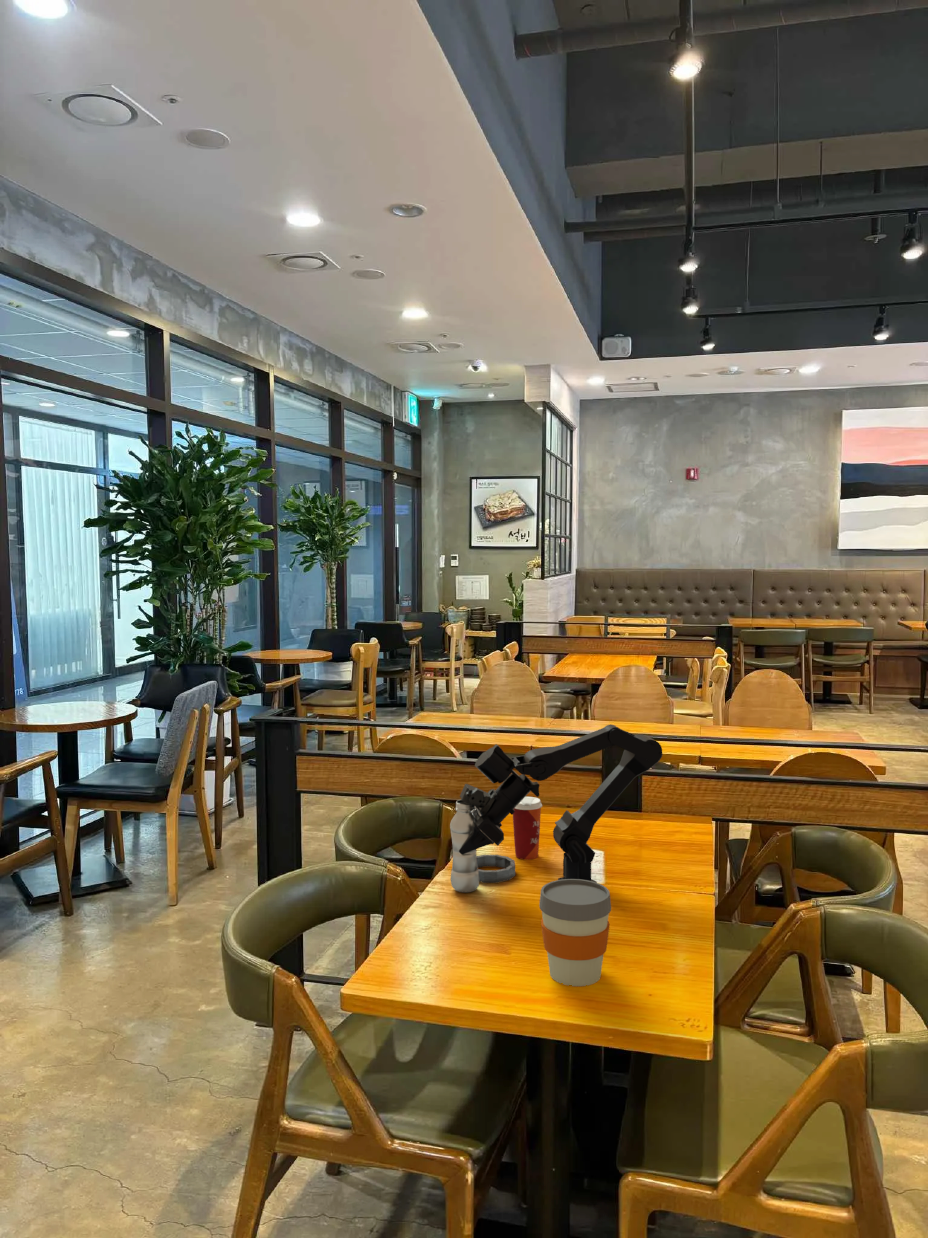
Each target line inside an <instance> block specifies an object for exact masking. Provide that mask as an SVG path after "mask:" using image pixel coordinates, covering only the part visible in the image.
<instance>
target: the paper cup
mask: <svg viewBox="0 0 928 1238" xmlns="http://www.w3.org/2000/svg"><path fill="white" fill-rule="evenodd" d="M542 807H543V804H542V801H541V799H540V798H538V797H536V796H535V797H533V796H525V798H524V799H523V800H522V801H521V802H520V803H519V804H518V805H517V806H516V807H515V808H514V811H515V812H514V813H513V814H512V823H513V824H512V825H513V826H512V827H513V840H514V841H513V842H514V853H515V857H516V858H517V859H520V860H527V861H529V860H535V859H537V858H538V856H539V849H540V848H539V847H540V845H539V844H540V829H541V815H542V814H541V811H542Z"/></svg>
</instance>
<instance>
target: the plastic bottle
mask: <svg viewBox="0 0 928 1238" xmlns="http://www.w3.org/2000/svg"><path fill="white" fill-rule="evenodd" d="M472 810H473V807H472V804H469V803H468V804H467V803H465V802H463V801H462V800H461V799H458V800H456V802H455V812H456V813H455V814H454V815H453V817H452V819H451V820H450V824H449V829H450V835H451V842H452V868H451V872H450V884H451V885H450V886H451V887H452V889H453V890H454V891H456V892H459V893H472V892H474V891H477V888H478V887H479V885H480V882H479V880H480V877H479V871H478V869H479V868H478V866H477V856H478V854H477V852H478V851H477V850H478V849H475V850H473V851H470V852H468V853H465V854H461V853H460V852H459V850H460V848H461V847H462V845H463V844H464V842H465V841H466V840H467V838H468V837H469V835H470V834H471V833H472V831H473V822H474V823H475V824H476V822H477V819H476V818H475V816H474V815H473V813H472Z"/></svg>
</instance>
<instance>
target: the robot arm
mask: <svg viewBox="0 0 928 1238" xmlns="http://www.w3.org/2000/svg"><path fill="white" fill-rule="evenodd" d="M613 746H616V747H618V748H622V749H624V750H623V753H622V756H621V759H620V762H619V763H618V765H617V766H615V768H614V769H613V770H612V771H611V773H610V774H609V775H607V777H606V778H605V779H604V780H603V782H601V784H600V785H599V786H598V788H597V789H596V790H595V791H594V792H593V793H592V794H591V796H590V797H589V798H588V799H587V800H586V801H585V802H584V803H583V805H582V806H581V807H580V808H579V809H578V810H576V811H574V812H572V813H571V811H569V810H565V812H564V813H562V816H561V817H560V818H559V819H558V820H556V821H555V822H554V823H555V826H554V828H553V830H552V837H553V840H554V841H555V843H556V844H557V845H558V846H559V848H560V849H561V851H562V852H564V853H563V860H562V876H561V877H558V878H557V880H562V879H582V880H588V881H593V882H596V883H598V881H596V880H594V879H592V862H593V861H594V858H595V855H596V852H595V850H593V848H592V847H591V846H590V845H589V844H588V841H589V840H590V838H591V835H592V832H593V830H594V826H595V825H596V823H597V822H598V821H599V820H600V819H601V817H602V816H603V815H604V814H605V813H606V812H607V810H609V808H610V807H611V806H612V805H613V804H614V802H615V801H616V800H617V799H618V798H619V797H620V796H621V794H622V793H623V792H624V791H625V790H626V788H628V787H629V785H630V784H631V783H632V781H634V779H635V778H636V777H638V776H640V775H642V774H644V773H645V772H648V771H649V770H650V769H652V768H653V767H654V766H655V765H656V764H658V763H659V762H660V761H661V759H662V757H663V748H662V745H661V744H660V743H659V742H658V741H657V740H655V739H654V738H652V737H650V736H648V735H647V734H636V735H635V734H634V733H632V732H629V731H626V730H624V729H622V728H620V727H618V726H616V725H615V724H612V723H611V724H606V725H605V726H604V727H602V728H600V729H596V730H594V731H592V732H589V733H587V734H584V735H582V736H580V737H578V738H574V739H572V740H570V741H567V742H564V743H562V744H560V745H559V744H558V745H556V746H545V747H539V748H534V749H531V750H528V751H526V752H525V754H523V755H519V756H512V757H509V755H507V753H505V752H504V750H503V749H502V748H501V747H500V745H498V744H497V743H496V744H494V745H493V746H492V747H489V748H488V749H487V750H485V751H484V752H482V753H481V754H480V756H479V757H478V758H477V759H476V760H475V763H474V767H476V769H478V771H479V772H480V773H481V774H483V775H484V776H485V777H486V779H488V780H489V781H490V782H491V783H492V784H496V783H499V784H500V785H499V786H498V787H497V788H496V789H495V788H491V789H490V790H489V791H488V792H487V791H485V790H483V789H481V788H478V787H475V786H473V785H471V784H469V783H465V784H464V786H463V789H461V793H460V795H459V798H461V799H460V800H462V801H463V802H465V803H467V804H468V803H469V804H472V807H473V810H472V813H473V815H474V816H475V818H476V819H477V822H476V824H475V823H474V822H473V831H472V833H471V834H470V835H469V837H468V838H467V840H466V841H465V842H464V844H463V845H462V847H461V848H460V850H459V852H460V853H461V854H465V853H468V852H470V851H473V850H475V849H476V850H478V849H480V848H483V847H486V846H488V845H494V844H495V845H496V846H500V845H501V843H502V842H503V841H504V840H505V833H504V832H503V830H502V828H501V827H502V826H503V824H502V822H503V821H504V820H505V819H506V817H508V816H509V814H510V815H513V813H514V812H515V811H514V808H515V807H516V806H517V805H518V804H519V803H520V802H521V801H522V800H523V799H524V798H525V797H527V795H528V794H530V792H531V793H533V794H534V796H535V797H536V798H538V797H540V783H539V782H543V781H545V780H547V779H549V778H551V777H552V776H553V775H555V774H558V772H559V771H560V770H561V769H563V767H566V765H568V764H570V763H571V764H572V763H573V762H575V761H577V760H580V759H583V758H585V757H588V756H590V755H592V754H593V755H594V754H595V753H597V752H599V751H603V750H605V749H609V748H611V747H613ZM514 769H515V770H516V771H515V770H514ZM517 772H518V773H519V774H518V773H517ZM528 776H530V778H532V779H533V780H534V781H532V780H531V779H530V778H529V777H528ZM535 780H536V781H535Z"/></svg>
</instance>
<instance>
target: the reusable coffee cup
mask: <svg viewBox="0 0 928 1238" xmlns="http://www.w3.org/2000/svg"><path fill="white" fill-rule="evenodd" d="M596 882H597V881H596ZM596 882H593V881H588V880H582V879H562V880H558V879H557V880H554V881H553V880H552V881H550V882H547V883H546V884H544V885H543V886H541V889H540V895H539V896H540V897H539V904H538V906H539V909H540V911H541V915H542V918H541V920H540V924H541V925H540V926H541V933H542V940H543V947H544V950H545V951H546V953H547V954H546V955H547V962H548V967H549V969H548V970H549V975H550V978H552V979H553V980H554V981H555V982H556V983H559V984H561V983H563V984H562V985H565V986H569V985H572V986H571V987H586V985H587V986H591V985H593V984H595V983H597V982H598V981H600V979H601V974H602V968H603V961H604V954H605V953H606V952H607V946H608V941H609V939H608V938H609V933H610V925H611V924H610V921H609V914H610V913H611V911H612V905H611V904H612V903H611V894H610V890H609V889H608V888H607V887H606V886H605V885H603V884H601V883H598V882H597V883H596Z"/></svg>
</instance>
